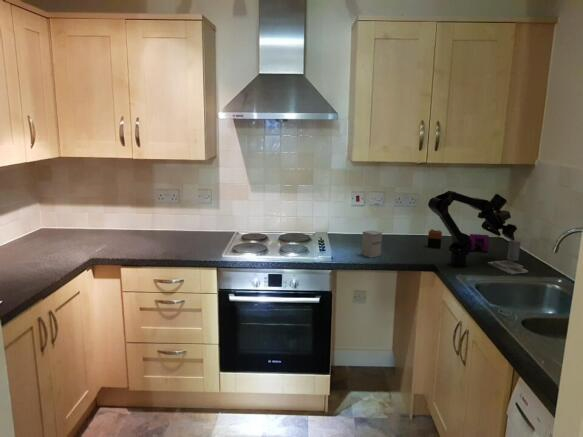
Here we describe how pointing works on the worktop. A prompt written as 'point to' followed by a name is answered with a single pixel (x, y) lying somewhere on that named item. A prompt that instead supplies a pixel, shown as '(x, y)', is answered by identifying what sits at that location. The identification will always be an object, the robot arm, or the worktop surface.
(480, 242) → the mounting bracket
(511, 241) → the grey rectangular block
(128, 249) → the worktop surface
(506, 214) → the robot arm
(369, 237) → the pinkish brown cylinder
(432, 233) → the battery
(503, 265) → the grey tray
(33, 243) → the worktop surface
